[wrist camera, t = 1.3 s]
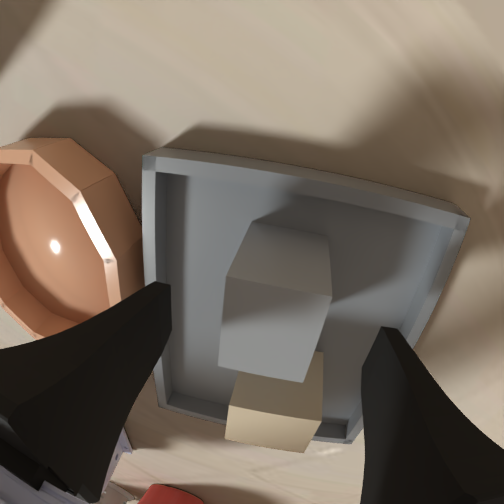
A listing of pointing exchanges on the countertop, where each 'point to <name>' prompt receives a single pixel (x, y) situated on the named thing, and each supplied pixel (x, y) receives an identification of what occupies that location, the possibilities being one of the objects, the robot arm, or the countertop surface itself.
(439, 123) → the countertop surface
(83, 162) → the bowl
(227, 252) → the tray
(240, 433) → the cream wooden cube
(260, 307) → the grey sharp-edged cube
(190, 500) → the flower pot
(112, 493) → the french press
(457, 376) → the countertop surface
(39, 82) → the countertop surface
